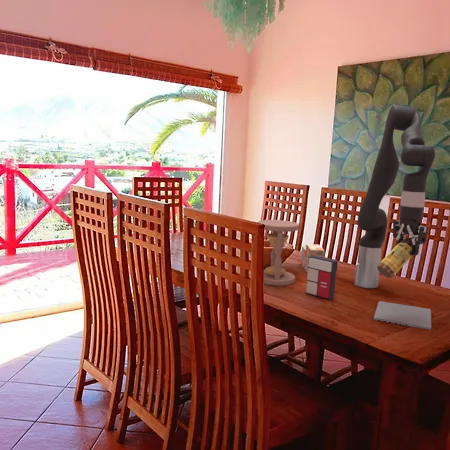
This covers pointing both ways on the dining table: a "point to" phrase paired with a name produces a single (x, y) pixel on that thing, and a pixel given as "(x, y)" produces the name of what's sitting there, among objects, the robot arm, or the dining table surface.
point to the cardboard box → (310, 253)
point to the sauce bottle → (396, 258)
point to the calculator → (321, 276)
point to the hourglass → (278, 251)
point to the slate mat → (403, 315)
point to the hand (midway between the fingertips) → (406, 253)
